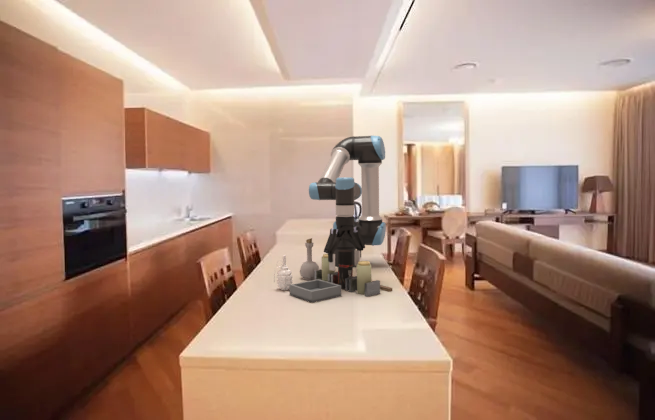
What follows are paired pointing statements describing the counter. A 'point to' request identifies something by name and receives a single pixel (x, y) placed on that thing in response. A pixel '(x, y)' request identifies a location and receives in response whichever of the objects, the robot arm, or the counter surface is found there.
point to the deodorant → (344, 266)
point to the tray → (315, 290)
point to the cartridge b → (363, 275)
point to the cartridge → (325, 268)
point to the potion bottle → (308, 263)
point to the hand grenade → (284, 276)
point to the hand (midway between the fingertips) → (345, 268)
